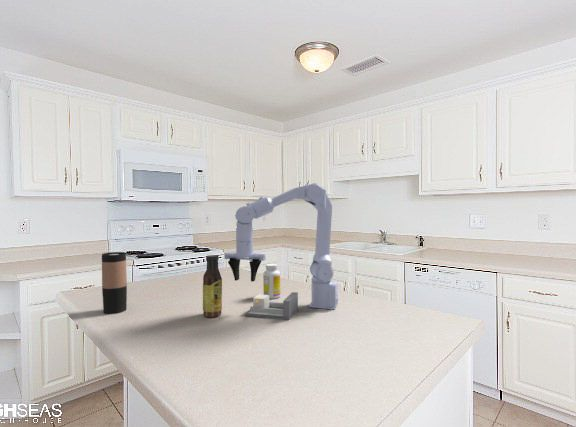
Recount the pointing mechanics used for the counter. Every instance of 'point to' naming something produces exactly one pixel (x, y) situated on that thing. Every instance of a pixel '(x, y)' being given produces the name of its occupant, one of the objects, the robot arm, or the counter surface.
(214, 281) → the sauce bottle
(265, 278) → the supplement bottle
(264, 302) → the block
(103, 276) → the travel mug
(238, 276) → the robot arm
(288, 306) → the board
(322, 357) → the counter surface
